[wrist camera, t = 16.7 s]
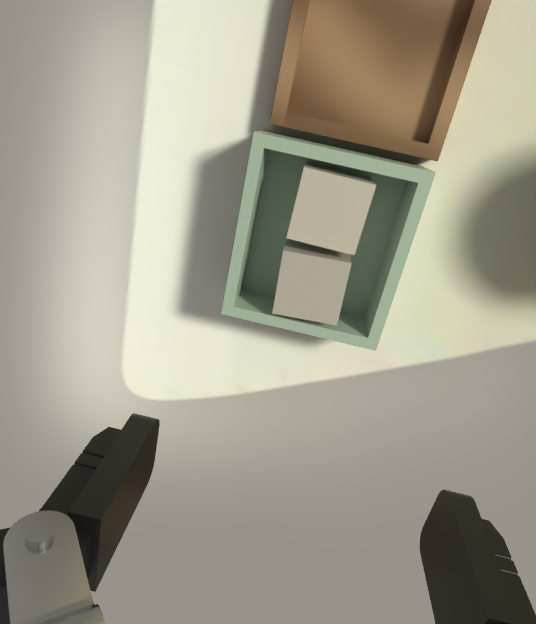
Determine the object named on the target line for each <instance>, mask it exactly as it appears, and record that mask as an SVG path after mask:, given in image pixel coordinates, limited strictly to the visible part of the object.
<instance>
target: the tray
mask: <svg viewBox="0 0 536 624" xmlns="http://www.w3.org/2000/svg"><path fill="white" fill-rule="evenodd" d="M490 3H491V0H293V4H292V9H291V15H290V20H289V25H288V30H287V36H286V41H285V46H284V51H283V57H282V62H281V67H280V72H279V77H278V83H277V88H276V93H275V98H274V104H273V109H272V114H271V119H270V124H273V125H278V126H282V127H287V128H291V129H296V130H300V131H304V132H309V133H313V134H318V135H322V136H327V137H331V138H336V139H340V140H345V141H349V142H354V143H358V144H362V145H367V146H371V147H376V148H380V149H385V150H389V151H394V152H398V153H403V154H407V155H412V156H416V157H420V158H425V159H429V160H434V161H438V159H439V156H440V153H441V150H442V147H443V144H444V141H445V138H446V135H447V132H448V129H449V126H450V123H451V120H452V117H453V114H454V111H455V108H456V105H457V102H458V99H459V96H460V93H461V90H462V87H463V84H464V81H465V78H466V75H467V72H468V69H469V66H470V63H471V60H472V57H473V54H474V51H475V48H476V45H477V42H478V39H479V36H480V33H481V30H482V27H483V24H484V21H485V18H486V15H487V12H488V9H489V6H490Z"/></svg>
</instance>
